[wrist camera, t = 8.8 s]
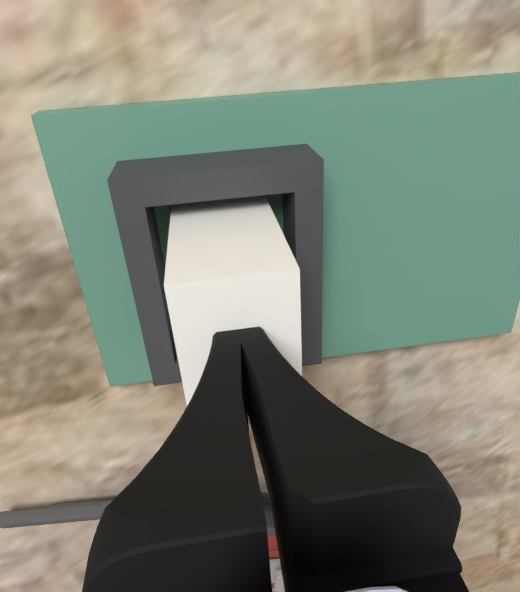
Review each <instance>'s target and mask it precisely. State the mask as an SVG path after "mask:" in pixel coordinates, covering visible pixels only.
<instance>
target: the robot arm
mask: <svg viewBox="0 0 520 592" xmlns="http://www.w3.org/2000/svg"><path fill="white" fill-rule="evenodd" d="M248 417H249V421H250V424H251V428H252V432H253V436H254V439H255V443H256V447H257V451H258V454H259V458H260V462H261V465H262V469H263V473H264V477H265V480H266V485H267V489H268V493H269V498H270V504H271V510H272V516H273V522H274V528H275V534H276V540H277V546H278V552H279V559H280V565H281V571H282V577H283V583H284V589H285V592H469V591H468V589H467V587H466V585H465V583H464V581H463V579H462V577H461V575H460V573H461V572H462V565H461V562H460V560H459V559H458V557H457V555H456V553H455V551H454V549H453V544H454V541H455V537H456V533H457V529H458V525H459V521H460V517H461V506H460V503H459V501H458V498H457V496H456V495H455V493H454V491H453V489H452V488H451V486H450V484H449V483H448V481H447V480H446V478H445V477H444V476H443V474H442V473H441V472H440V470H439V469H438V468H437V466H436V465H435V464H434V463H433V461H432V460H431V459H430V457H429V456H428V455H427V454H425V453H422V452H420V451H418V450H416V449H413V448H411V447H409V446H406V445H404V444H402V443H400V442H397V441H395V440H393V439H391V438H389V437H387V436H385V435H383V434H381V433H379V432H377V431H375V430H374V429H372V428H370V427H368V426H366V425H365V424H363V423H362V422H360V421H358V420H357V419H355V418H354V417H352V416H350V415H349V414H347V413H346V412H344V411H343V410H341V409H340V408H339V407H337V406H336V405H335V404H333V403H332V402H331V401H329V400H328V399H327V398H326V397H324V396H323V395H322V394H321V393H320V392H318V391H317V390H316V389H315V388H314V387H313V386H312V385H310V384H309V383H308V382H307V381H306V380H305V379H304V378H303V377H302V376H301V375H300V374H299V373H298V372H297V371H296V370H295V369H294V368H293V367H292V365H291V364H290V363H289V362H288V361H287V360H286V359H285V358H284V357H283V355H282V354H281V353H280V352H279V351H278V349H277V348H276V347H275V345H274V344H273V343H272V341H271V340H270V339H269V337H268V336H267V334H266V333H265V331H264V329H262V328H261V327H260V326H259V327H251V328H244V329H236V330H228V331H220V332H216V333H215V334H214V335H213V339H212V345H211V349H210V353H209V356H208V360H207V362H206V365H205V368H204V371H203V373H202V376H201V378H200V381H199V383H198V385H197V387H196V390H195V392H194V394H193V396H192V398H191V400H190V402H189V404H188V406H187V408H186V409H185V411H184V413H183V415H182V416H181V418H180V420H179V421H178V423H177V425H176V426H175V428H174V429H173V431H172V432H171V434H170V435H169V436H168V438H167V439H166V441H165V442H164V444H163V445H162V446H161V448H160V449H159V450H158V452H157V453H156V454H155V455H154V456H153V458H152V459H151V460H150V461H149V462H148V464H147V465H146V466H145V467H144V468H143V470H142V471H141V472H140V473H139V474H138V475H137V477H136V478H135V479H134V480H133V481H132V482H131V483H130V484H129V485H128V486H127V487H126V488H125V489H124V490H123V491H122V492H121V493H120V494H119V495H118V496H117V497H116V498H115V499H114V500H113V501H112V502H111V503H110V504H109V505H108V506H106V507H105V509H104V511H103V514H102V516H101V519H100V522H99V524H98V527H97V530H96V533H95V536H94V539H93V542H92V545H91V549H90V552H89V557H88V561H87V567H86V573H85V578H84V584H83V590H82V592H272V583H271V571H270V559H269V547H268V536H267V526H266V520H265V514H264V508H263V502H262V497H261V492H260V488H259V483H258V478H257V473H256V468H255V464H254V459H253V453H252V448H251V443H250V438H249V427H248Z"/></svg>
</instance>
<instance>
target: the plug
mask: <svg viewBox="0 0 520 592" xmlns="http://www.w3.org/2000/svg"><path fill="white" fill-rule="evenodd" d="M164 290H165V295H166V300H167V305H168V310H169V316H170V321H171V326H172V331H173V336H174V342H175V347H176V352H177V357H178V362H179V368H180V373H181V378H182V383H183V388H184V394H185V399H186V404H187V406H188V404H189V402H190V400H191V398H192V396H193V394H194V392H195V390H196V387H197V385H198V383H199V381H200V378H201V376H202V373H203V371H204V368H205V365H206V362H207V360H208V356H209V353H210V349H211V345H212V339H213V335H214V334H215V333H216V332H220V331H228V330H236V329H244V328H251V327H259V326H260V327H261V328H262V329H264V331H265V333H266V334H267V336H268V337H269V339H270V340H271V341H272V343H273V344H274V345H275V347H276V348H277V349H278V351H279V352H280V353H281V354H282V355H283V357H284V358H285V359H286V360H287V361H288V362H289V363H290V364H291V365H292V367H293V368H294V369H295V370H296V371H297V372H298V373H299V374H300V375H301V376H302V345H301V299H300V268H299V266H298V264H297V262H296V260H295V258H294V256H293V254H292V251H291V249H290V247H289V245H288V243H287V241H286V239H285V236H284V234H283V232H282V230H281V228H280V226H279V224H278V222H277V219H276V217H275V215H274V213H273V211H272V209H271V207H270V205H269V202H268V200H267V198H266V196H265V195H262V196H252V197H242V198H232V199H222V200H212V201H202V202H192V203H182V204H172V205H171V215H170V226H169V236H168V246H167V256H166V266H165V277H164ZM248 419H249V417H248Z"/></svg>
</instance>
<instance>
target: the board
mask: <svg viewBox="0 0 520 592" xmlns="http://www.w3.org/2000/svg"><path fill="white" fill-rule="evenodd" d="M31 117H32V121H33V124H34V128H35V131H36V135H37V138H38V141H39V145H40V148H41V152H42V155H43V159H44V162H45V166H46V169H47V172H48V176H49V179H50V183H51V186H52V190H53V193H54V196H55V200H56V203H57V207H58V210H59V214H60V217H61V220H62V224H63V227H64V231H65V234H66V238H67V241H68V244H69V248H70V251H71V255H72V258H73V262H74V265H75V268H76V272H77V275H78V279H79V282H80V286H81V289H82V292H83V296H84V299H85V303H86V306H87V310H88V313H89V317H90V320H91V323H92V327H93V330H94V334H95V337H96V341H97V344H98V347H99V351H100V354H101V358H102V361H103V365H104V368H105V371H106V375H107V378H108V382H109V385H110V387H111V386H118V385H126V384H133V383H141V382H148V381H153V384H154V386H158V385H165V384H173V383H180V382H182V378H181V373H180V368H179V362H178V357H177V352H176V347H175V342H174V336H173V331H172V326H171V321H170V316H169V310H168V305H167V300H166V295H165V290H164V277H165V266H166V256H167V246H168V236H169V226H170V215H171V205H172V204H182V203H192V202H202V201H212V200H222V199H232V198H242V197H252V196H262V195H265V196H266V198H267V200H268V202H269V205H270V207H271V209H272V211H273V213H274V215H275V217H276V219H277V222H278V224H279V226H280V228H281V230H282V232H283V234H284V236H285V239H286V241H287V243H288V245H289V247H290V249H291V251H292V254H293V256H294V258H295V260H296V262H297V264H298V266H299V268H300V299H301V345H302V366H306V365H313V364H321V363H322V358H327V357H334V356H342V355H349V354H357V353H364V352H371V351H379V350H386V349H394V348H401V347H409V346H416V345H424V344H431V343H438V342H446V341H453V340H461V339H468V338H476V337H483V336H491V335H498V334H505V333H511V331H512V327H513V323H514V319H515V315H516V312H517V308H518V304H519V300H520V72H518V73H505V74H493V75H481V76H468V77H456V78H444V79H431V80H419V81H406V82H394V83H382V84H369V85H357V86H345V87H332V88H320V89H308V90H295V91H283V92H270V93H258V94H246V95H233V96H221V97H209V98H196V99H184V100H171V101H159V102H147V103H134V104H122V105H110V106H97V107H85V108H73V109H60V110H48V111H39V112H37V113H35V114H33V115H31Z"/></svg>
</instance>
